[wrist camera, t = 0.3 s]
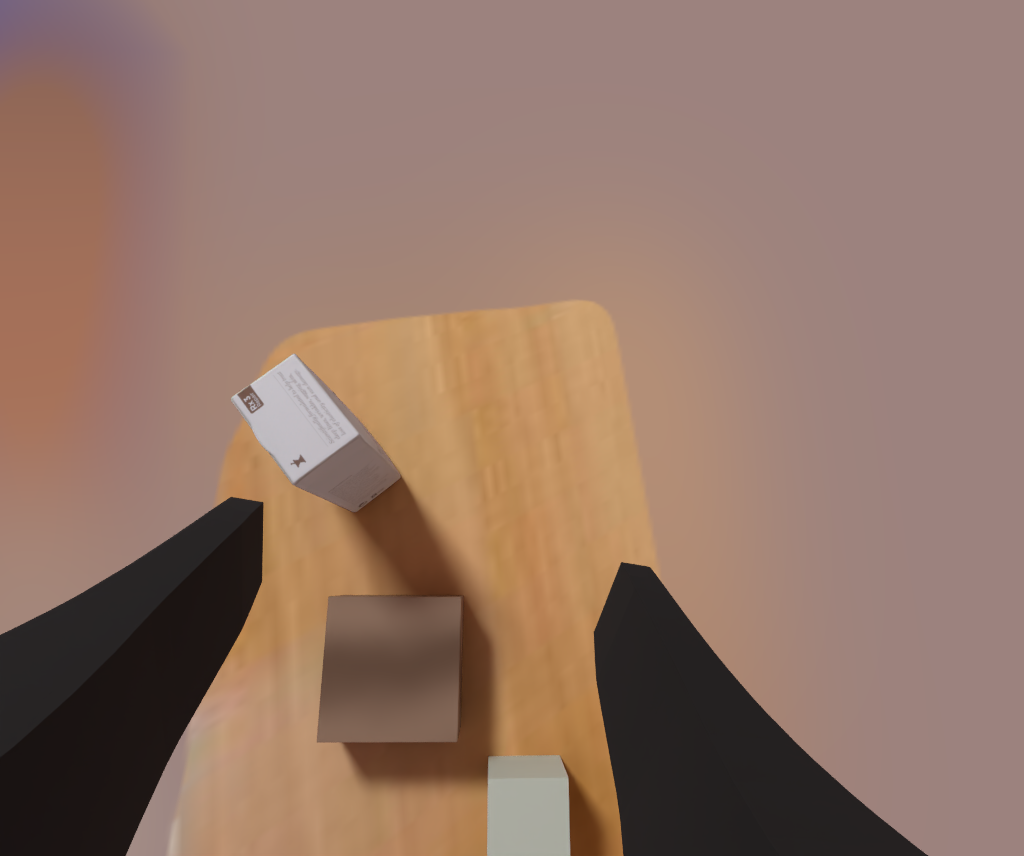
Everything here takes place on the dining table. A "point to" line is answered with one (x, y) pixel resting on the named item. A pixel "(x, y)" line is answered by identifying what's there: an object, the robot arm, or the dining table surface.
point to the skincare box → (315, 436)
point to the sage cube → (528, 806)
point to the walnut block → (392, 669)
